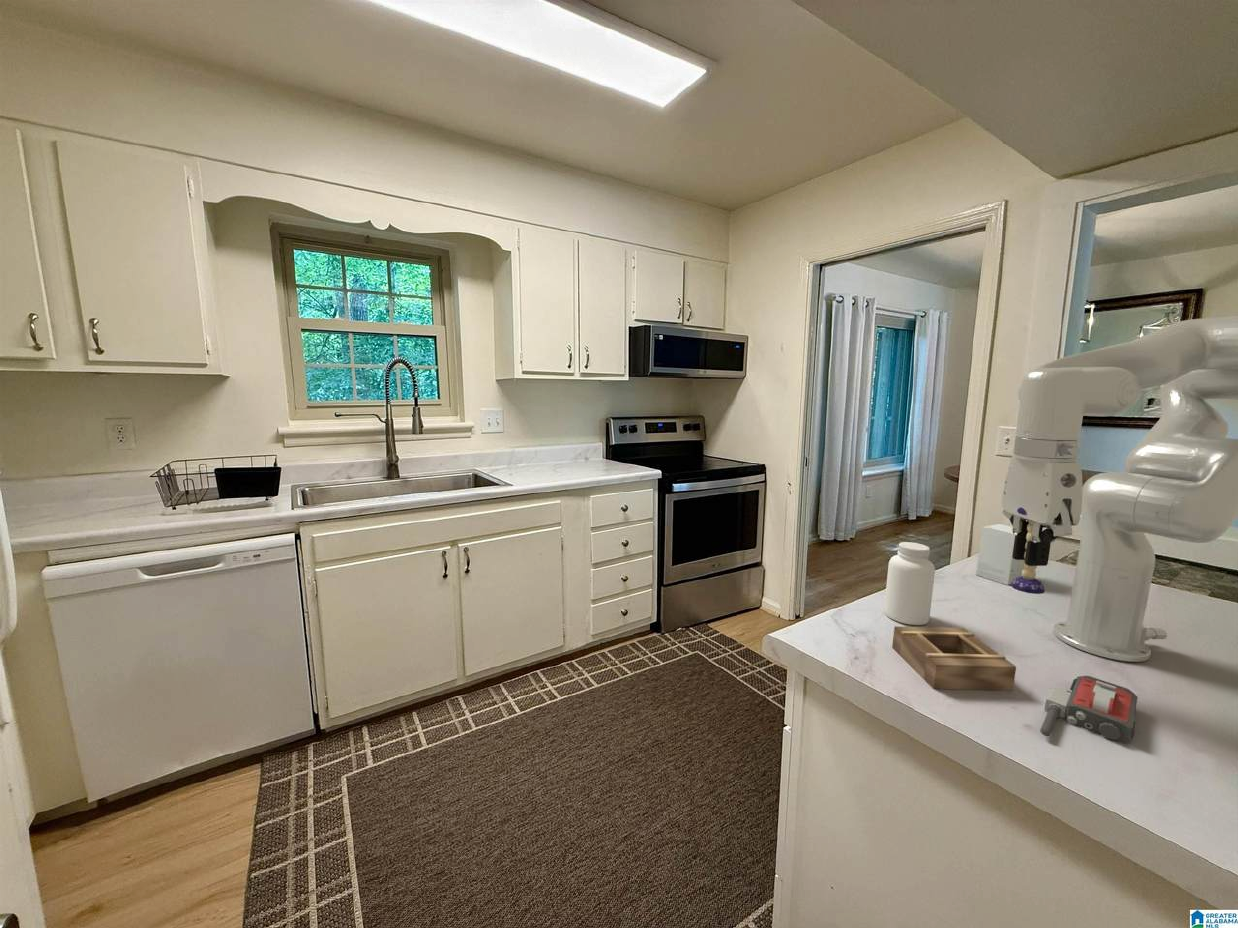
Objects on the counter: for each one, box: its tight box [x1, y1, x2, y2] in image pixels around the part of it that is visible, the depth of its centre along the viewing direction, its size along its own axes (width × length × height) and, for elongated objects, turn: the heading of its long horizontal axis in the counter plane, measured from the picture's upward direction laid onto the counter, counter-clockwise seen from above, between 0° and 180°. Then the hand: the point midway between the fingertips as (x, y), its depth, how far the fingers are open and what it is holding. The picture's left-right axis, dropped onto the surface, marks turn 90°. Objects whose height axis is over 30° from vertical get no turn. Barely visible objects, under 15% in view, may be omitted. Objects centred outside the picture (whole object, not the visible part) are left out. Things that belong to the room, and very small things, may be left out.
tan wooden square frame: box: [891, 626, 1017, 692], centre depth 81 cm, size 12×12×4 cm
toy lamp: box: [1010, 507, 1046, 595], centre depth 78 cm, size 5×5×17 cm
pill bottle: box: [883, 541, 936, 626], centre depth 98 cm, size 8×8×15 cm
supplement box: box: [975, 523, 1024, 586], centre depth 119 cm, size 7×7×13 cm
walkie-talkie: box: [1039, 675, 1138, 745], centre depth 68 cm, size 9×4×20 cm
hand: (1029, 561), depth 79 cm, fingers closed on toy lamp
